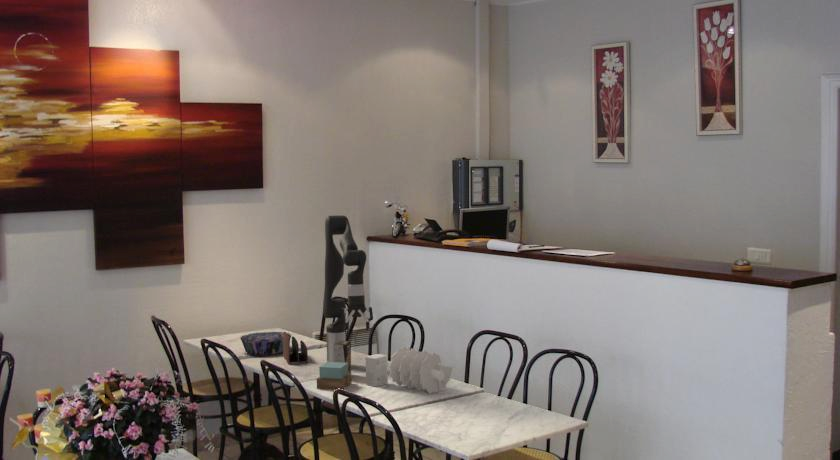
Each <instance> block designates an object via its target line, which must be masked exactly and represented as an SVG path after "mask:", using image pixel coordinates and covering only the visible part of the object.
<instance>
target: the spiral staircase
mask: <svg viewBox="0 0 840 460" xmlns="http://www.w3.org/2000/svg"><path fill="white" fill-rule="evenodd" d="M390 358H391V360H390V363H389V365H388V369H390V372H389V377H390V378H392V383H396V384H397V385H398V386H399V387H401V386H404V387H405V386H406V387H407V388H408V389H409V390H412V389H414V388H416V389H417V391H420V390H424V391H427V393H428V394H432V393H437V394H438V393H439V392H440V391H442V390H443V389H444V388H446V386H447V385H448V384H449V383H448V382H449V381H450V379H451V378H452V377H451V375H452V372H453V367H451V366H445V365H440V364H441V362H442V360H441V356H440V354H439V353H438V354H437V353H435V352H434V351H432V353H431V354H430V352H428V351H426V349H423V350H422V351H419V349H414V348H412V347H411V348H406V347H405V345H402V347H400V348H395V352H394V354H392V355H391V356H390Z"/></svg>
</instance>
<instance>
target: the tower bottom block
mask: <svg viewBox="0 0 840 460" xmlns="http://www.w3.org/2000/svg"><path fill="white" fill-rule="evenodd" d="M349 385H352V372H351V373H348V374H347V375H346V376H345V377H343V378H342V379H328V378H320V376H318V377H317V378H316V389H318V390H319V389H320V390H330V389H331V390H332V391H335V390H334V389H338V388H340V389H343V390H344V389H346V388H347V387H349Z"/></svg>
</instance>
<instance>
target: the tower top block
mask: <svg viewBox="0 0 840 460" xmlns="http://www.w3.org/2000/svg"><path fill="white" fill-rule="evenodd" d="M318 368H319V369H318V371H319V373H318V374H319V377H320V378H328V379H342V378H343V377H345V376H346V375H347V374H348V363H341V362H327V361H326V362H325V363H323V364H321V365H320V366H319V367H318Z"/></svg>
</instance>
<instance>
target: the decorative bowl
mask: <svg viewBox="0 0 840 460" xmlns="http://www.w3.org/2000/svg"><path fill="white" fill-rule="evenodd" d="M283 332H284V331H266V332H265V331H264V332H254V333H253V332H252V333H248V334H244V335H241V336H240V337H239V338H240V340H241V343H242V347H243V349H244V351H245V353H246V352H247V353H246V354H248V353H250V354H249V355H251V354H255V355H254V356H257V355H260V356H270V355H277V354H283ZM286 333H287V334H288V336H289V338H290V339H292V337H293V336H292V334H291V333H289V332H286Z"/></svg>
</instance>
